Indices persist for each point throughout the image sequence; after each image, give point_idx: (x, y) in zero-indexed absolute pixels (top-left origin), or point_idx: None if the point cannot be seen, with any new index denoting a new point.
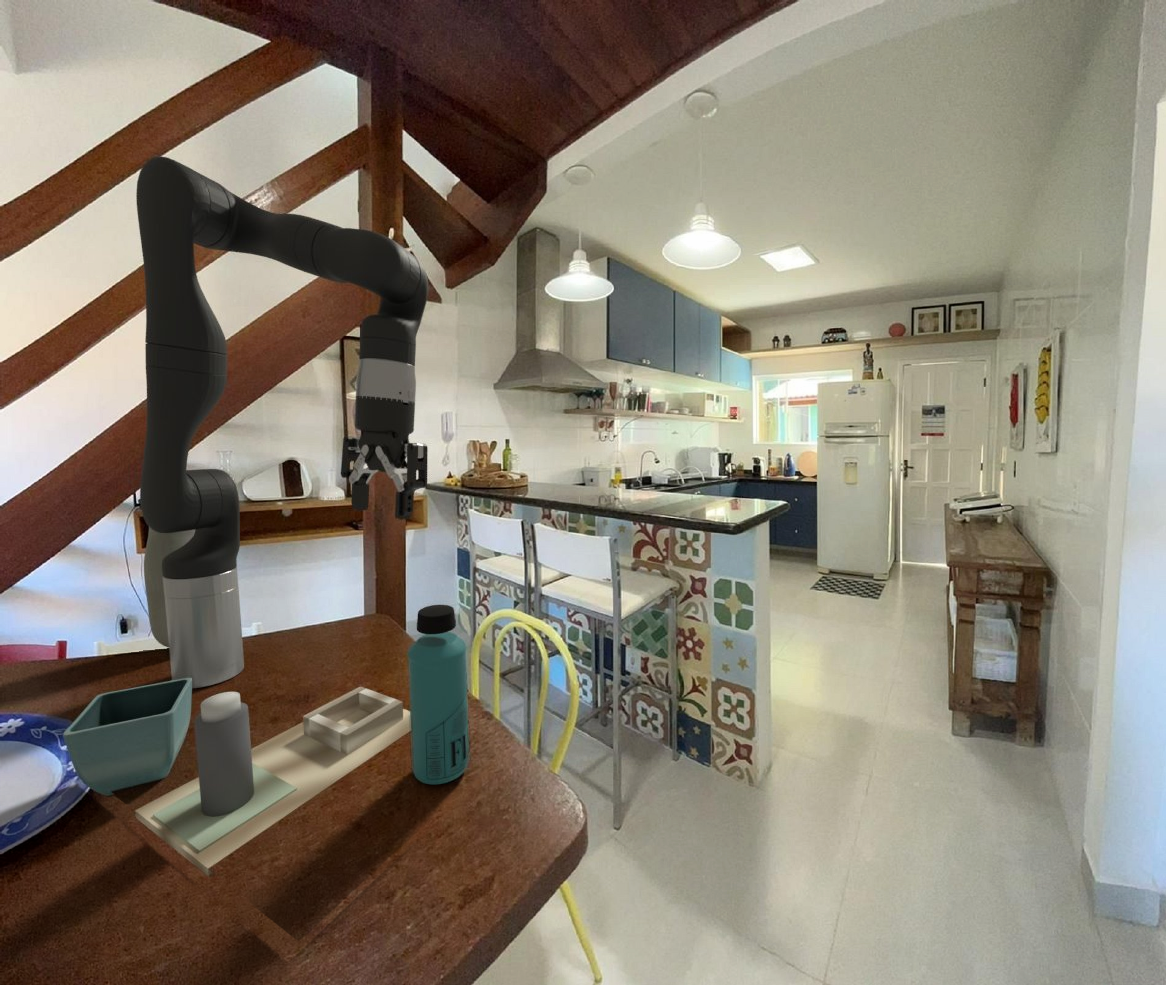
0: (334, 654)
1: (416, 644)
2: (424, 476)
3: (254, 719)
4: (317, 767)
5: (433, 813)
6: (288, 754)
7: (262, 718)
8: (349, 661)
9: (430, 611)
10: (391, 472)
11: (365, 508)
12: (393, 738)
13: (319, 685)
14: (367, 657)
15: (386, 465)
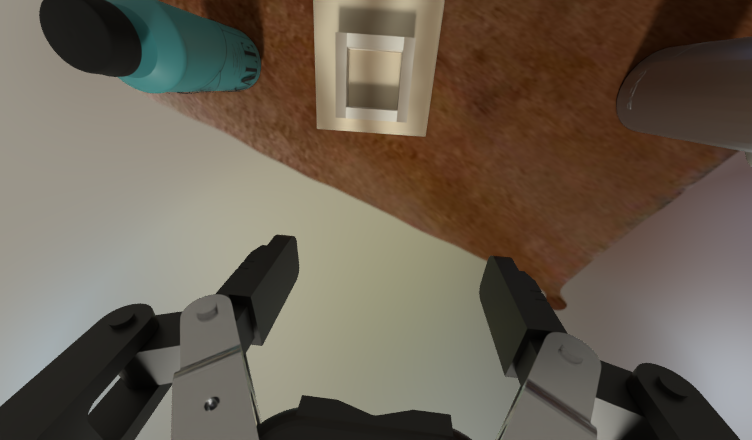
0: (530, 197)
1: (135, 8)
2: (99, 403)
3: (504, 45)
4: (349, 2)
5: (209, 16)
6: (397, 4)
7: (497, 51)
8: (498, 191)
9: (66, 14)
10: (195, 369)
11: (481, 287)
12: (320, 82)
13: (490, 135)
14: (484, 207)
15: (220, 425)
